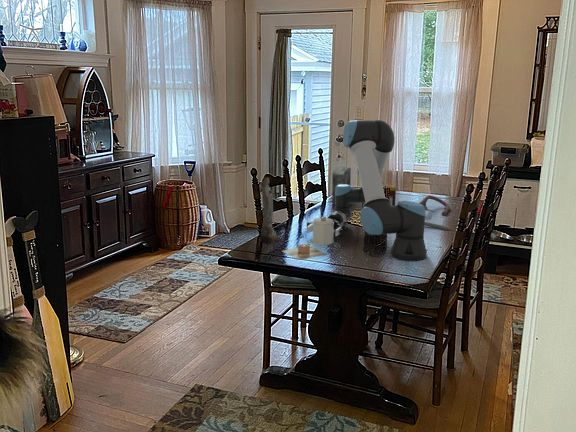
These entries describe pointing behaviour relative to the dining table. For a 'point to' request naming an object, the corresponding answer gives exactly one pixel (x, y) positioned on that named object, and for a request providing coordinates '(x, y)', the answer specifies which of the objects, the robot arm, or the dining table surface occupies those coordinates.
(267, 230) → the statue
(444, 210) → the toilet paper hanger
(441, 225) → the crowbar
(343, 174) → the concrete block
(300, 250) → the peach rounded dome
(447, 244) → the dining table surface
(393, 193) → the supplement box
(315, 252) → the board
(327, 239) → the white lidded jar
